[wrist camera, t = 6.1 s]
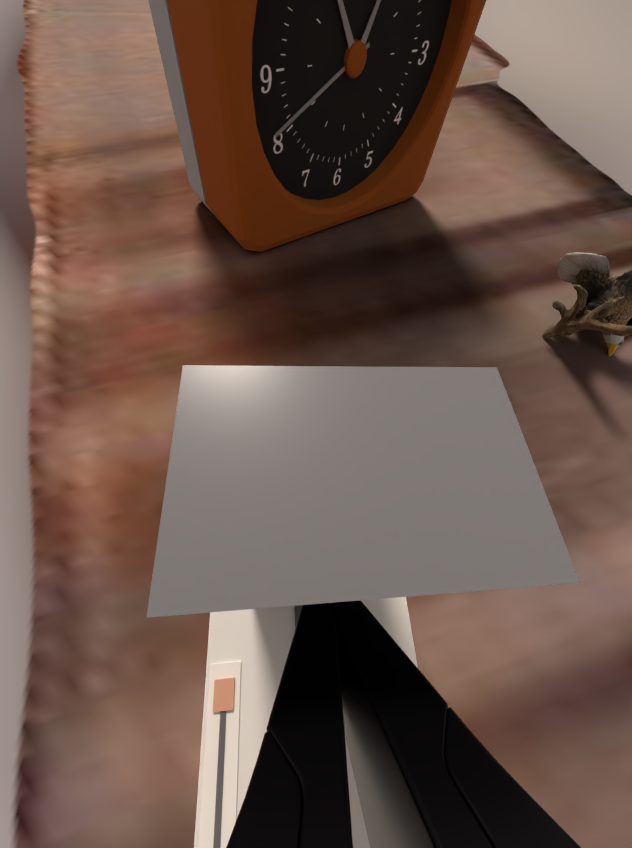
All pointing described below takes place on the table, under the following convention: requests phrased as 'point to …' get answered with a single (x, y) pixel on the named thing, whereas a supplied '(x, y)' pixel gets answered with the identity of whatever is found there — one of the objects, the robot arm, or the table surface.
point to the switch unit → (258, 707)
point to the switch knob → (348, 489)
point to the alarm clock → (309, 104)
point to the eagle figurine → (595, 299)
